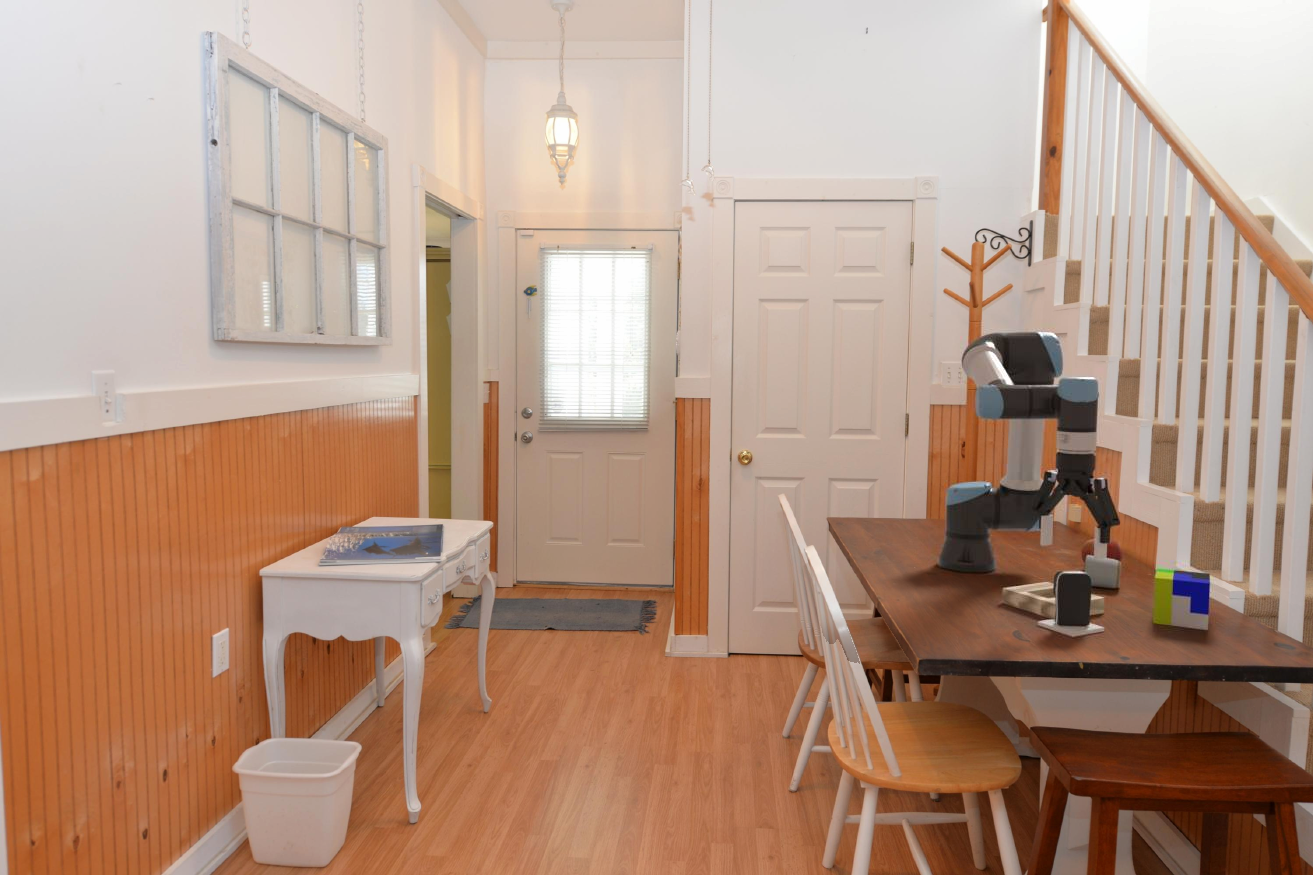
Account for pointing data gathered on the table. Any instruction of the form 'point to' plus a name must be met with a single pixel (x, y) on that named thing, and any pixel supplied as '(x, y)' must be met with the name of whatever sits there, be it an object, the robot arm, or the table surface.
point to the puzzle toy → (1181, 598)
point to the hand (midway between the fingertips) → (1072, 551)
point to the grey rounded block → (1103, 572)
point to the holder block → (1042, 599)
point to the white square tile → (1071, 628)
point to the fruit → (1112, 550)
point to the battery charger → (1072, 598)
